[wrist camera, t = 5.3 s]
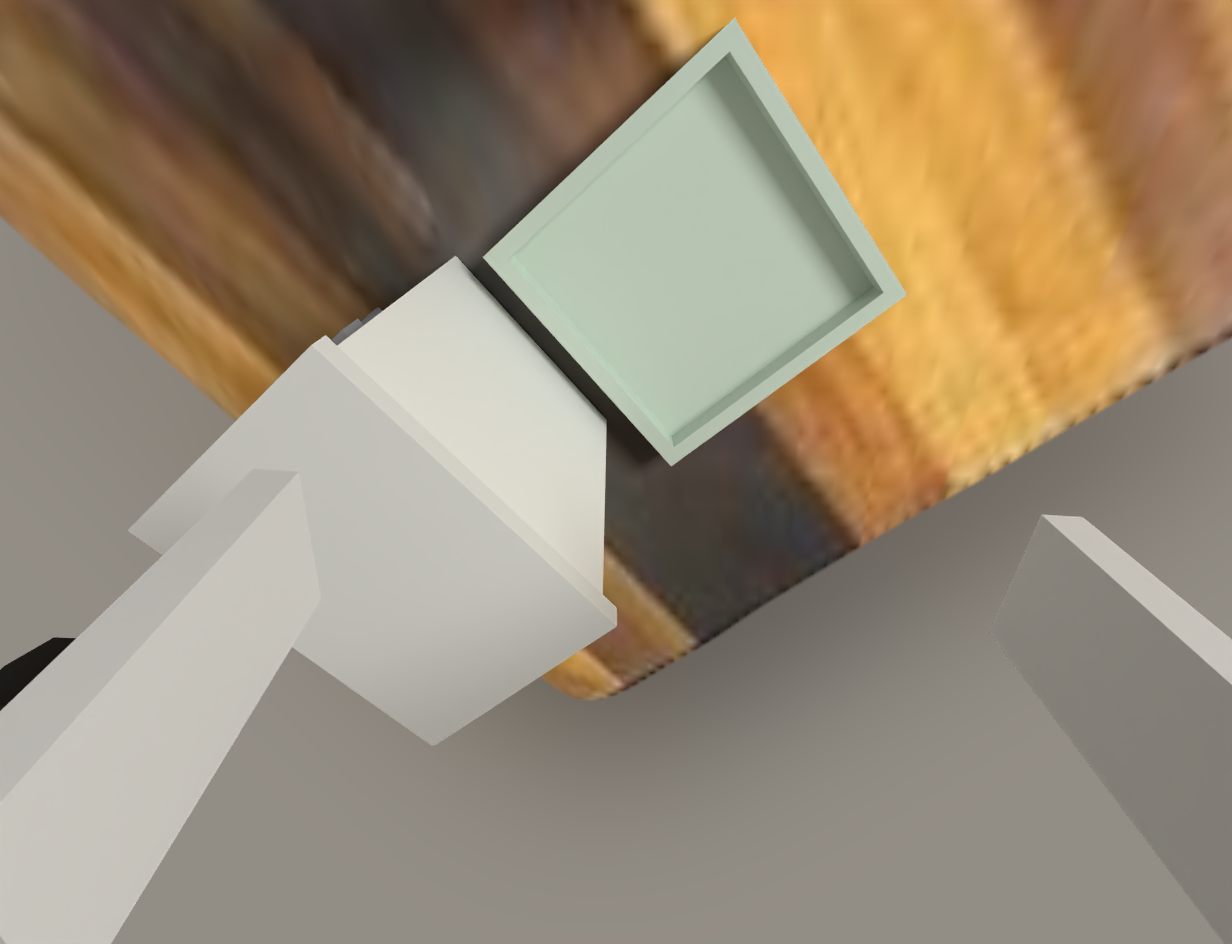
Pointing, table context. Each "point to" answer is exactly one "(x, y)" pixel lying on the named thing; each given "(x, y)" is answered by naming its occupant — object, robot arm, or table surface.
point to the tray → (699, 253)
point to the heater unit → (429, 502)
